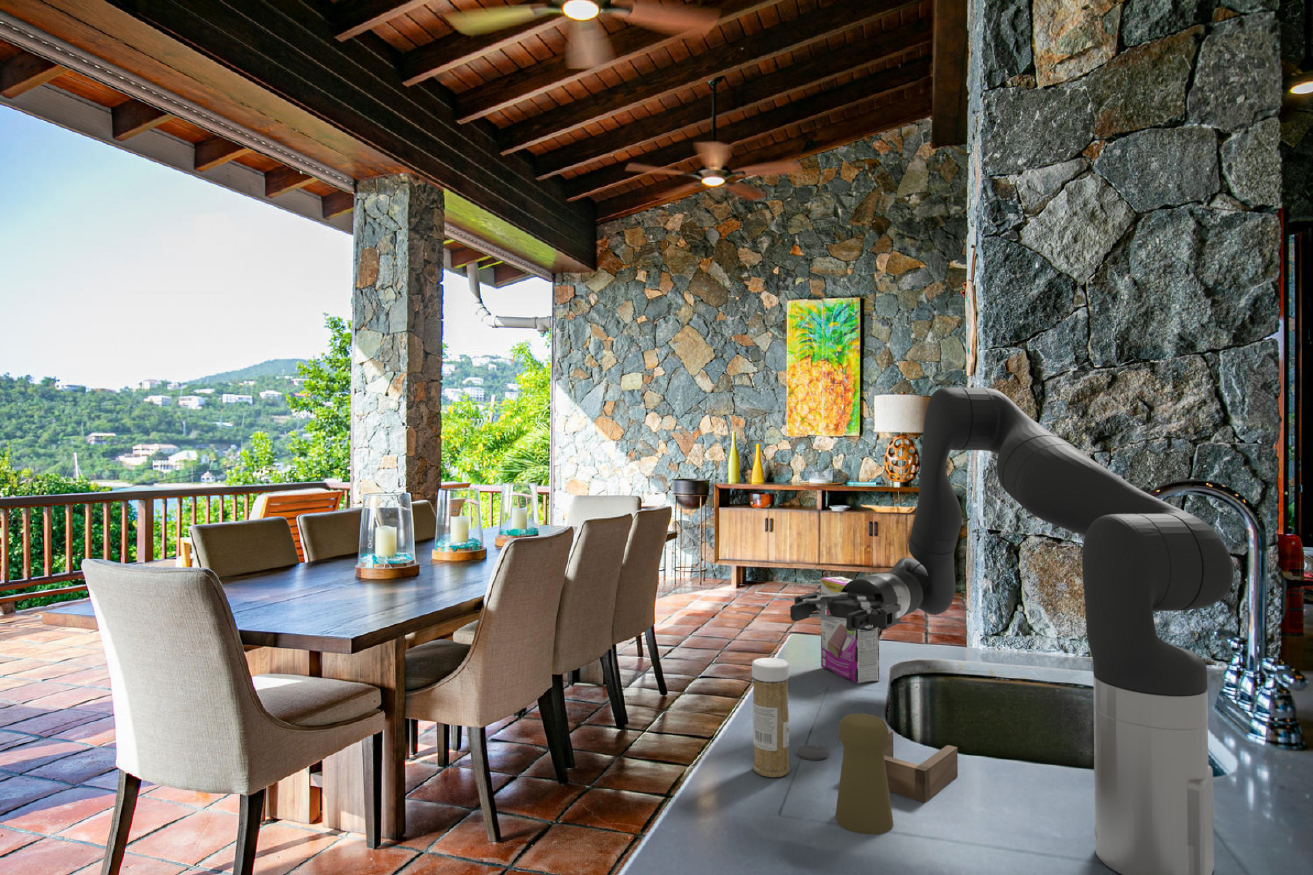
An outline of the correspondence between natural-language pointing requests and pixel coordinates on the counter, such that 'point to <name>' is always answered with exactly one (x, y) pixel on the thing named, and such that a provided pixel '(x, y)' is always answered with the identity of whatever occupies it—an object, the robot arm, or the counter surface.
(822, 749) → the disc
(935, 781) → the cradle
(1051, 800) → the counter surface
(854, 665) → the candy bar box
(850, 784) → the cork
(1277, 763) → the counter surface
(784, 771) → the spice jar
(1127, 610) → the robot arm
